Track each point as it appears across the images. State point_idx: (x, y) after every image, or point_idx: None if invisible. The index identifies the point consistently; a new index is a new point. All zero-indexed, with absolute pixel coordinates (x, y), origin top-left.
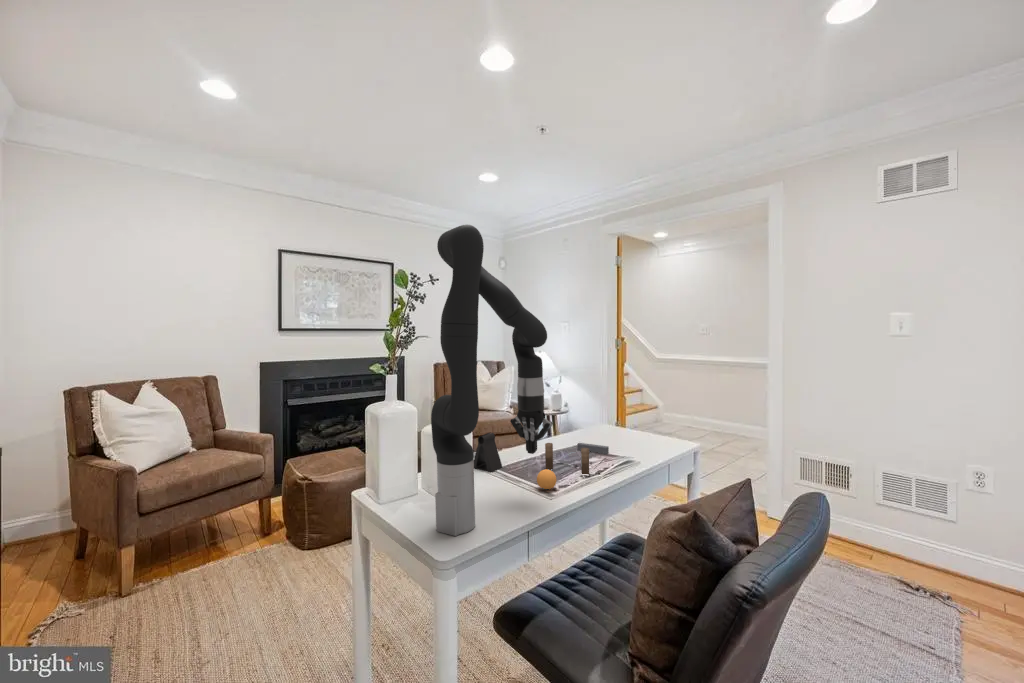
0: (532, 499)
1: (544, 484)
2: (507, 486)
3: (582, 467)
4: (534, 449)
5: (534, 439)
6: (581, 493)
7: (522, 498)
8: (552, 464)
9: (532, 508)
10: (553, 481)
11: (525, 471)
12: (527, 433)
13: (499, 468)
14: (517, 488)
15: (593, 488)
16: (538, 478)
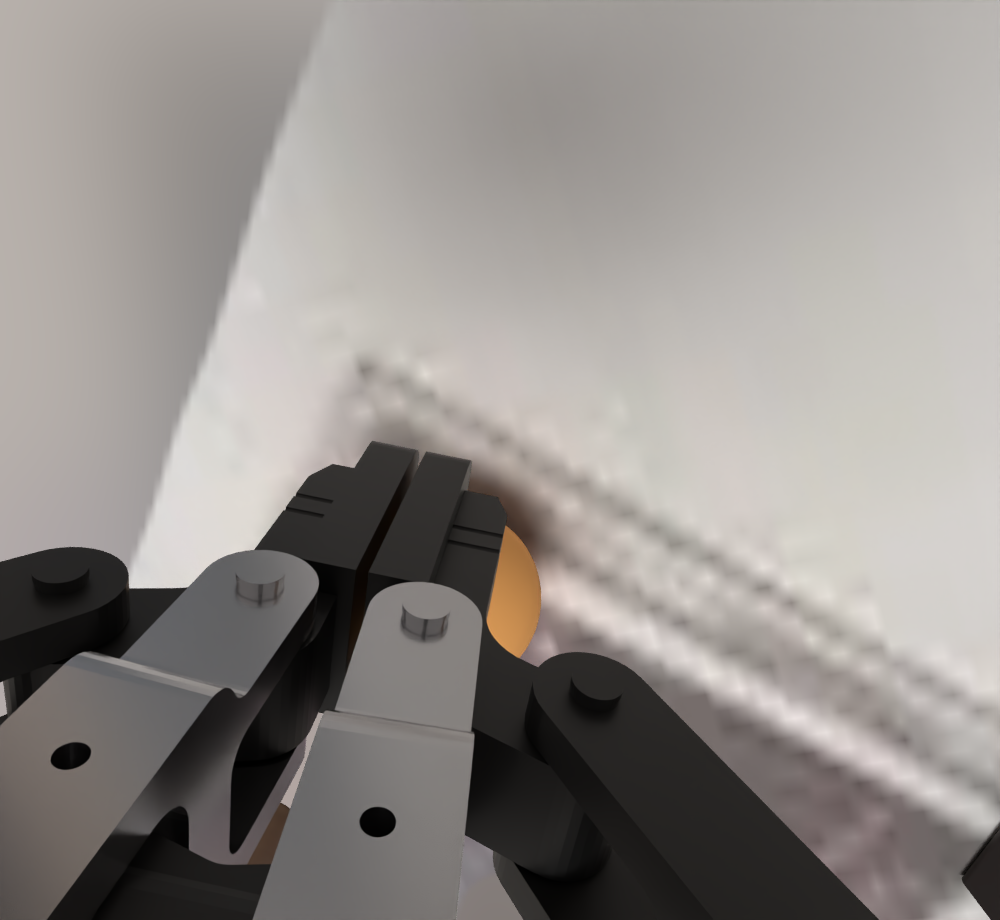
0: (518, 321)
1: None
2: (822, 531)
3: (257, 863)
4: (312, 483)
5: (207, 580)
6: (182, 532)
7: (613, 318)
8: None
9: (457, 128)
10: None
11: None
12: (362, 705)
13: (982, 851)
14: (717, 510)
15: None
16: (506, 559)
